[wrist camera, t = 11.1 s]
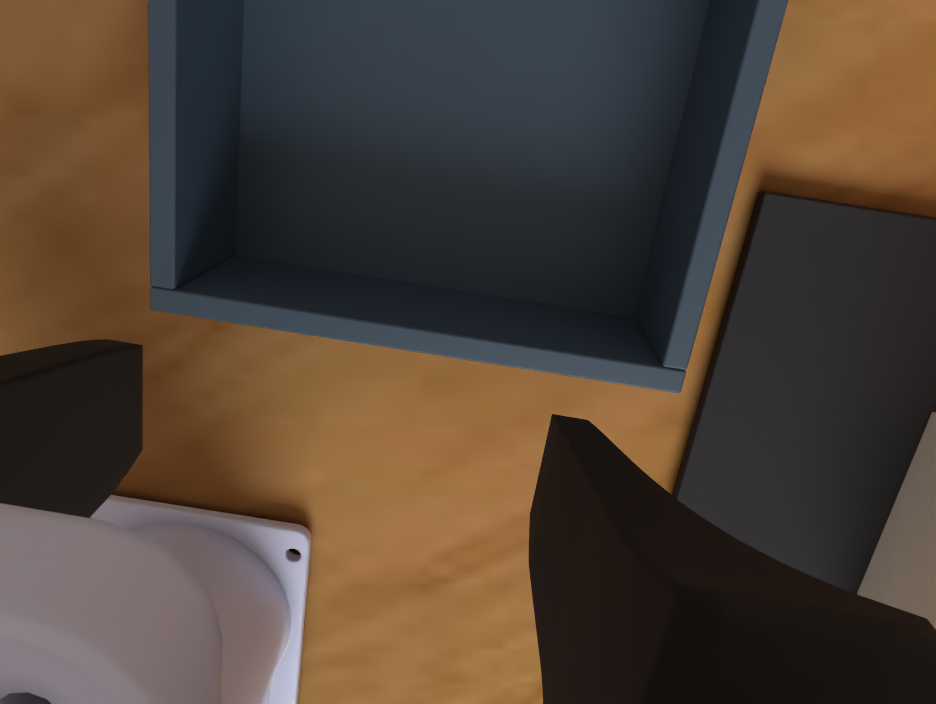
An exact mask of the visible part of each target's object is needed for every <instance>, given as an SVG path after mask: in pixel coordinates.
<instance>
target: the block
mask: <svg viewBox="0 0 936 704" xmlns="http://www.w3.org/2000/svg"><path fill="white" fill-rule="evenodd" d="M857 595H860V596H863V597H866V598H869V599H872V600H875V601H878V602H880V603H883V604H886V605H889V606H892V607H895V608H898V609H901V610H904V611H907V612H909V613H912V614H915V615H918V616H921V617H924V618H926V619H928V620H929V622H930V623H931V624H932V625H933V627H934V628H935V629H936V412H932V413H931V416H930V418H929V421H928V423H927V426H926V428H925V430H924V433H923V435H922V438H921V440H920V442H919V445H918V447H917V450H916V452H915V455H914V457H913V459H912V462H911V464H910V467H909V469H908V471H907V474H906V476H905V479H904V481H903V484H902V486H901V488H900V491H899V493H898V496H897V498H896V501H895V503H894V505H893V508H892V510H891V513H890V515H889V517H888V520H887V522H886V525H885V527H884V530H883V532H882V534H881V537H880V539H879V542H878V544H877V546H876V549H875V551H874V554H873V556H872V559H871V561H870V563H869V566H868V568H867V571H866V573H865V576H864V578H863V580H862V583H861V585H860V588H859V590H858V592H857Z"/></svg>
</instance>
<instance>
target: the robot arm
mask: <svg viewBox="0 0 936 704" xmlns="http://www.w3.org/2000/svg"><path fill="white" fill-rule="evenodd" d="M142 359H143V345H138V344H132V343H126V342H120V341H114V340H108V339H106V340H87V341H79V342H73V343H66V344H60V345H55V346H49V347H44V348H39V349H33V350H28V351H23V352H18V353H13V354H7V355H2V356H0V704H298V693H299V682H300V670H301V658H302V646H303V634H304V623H305V611H306V599H307V587H308V575H309V564H310V552H311V540H312V538H311V533H310V532H309V530H308V529H307V528H305V527H304V526H302V525H299V524H294V523H287V522H281V521H275V520H268V519H262V518H256V517H249V516H243V515H237V514H230V513H224V512H217V511H211V510H205V509H198V508H192V507H186V506H179V505H173V504H167V503H160V502H154V501H148V500H141V499H135V498H129V497H122V496H116V495H111V494H112V493H113V492H114V491H115V489H116V488H117V486H118V485H119V484H120V482H121V481H122V479H123V478H124V477H125V475H126V474H127V472H128V471H129V469H130V468H131V466H132V465H133V463H134V462H135V460H136V459H137V457H138V456H139V454H140V453H141V451H142ZM90 517H91V518H90ZM289 549H296V550H298V551H299V552H300V554H298V555H296V554H293V553H292V552H291V551H290V550H289ZM529 569H530V578H531V587H532V596H533V605H534V613H535V621H536V630H537V638H538V647H539V655H540V663H541V673H542V687H543V704H936V629H935V628H934V627H933V625H932V624H931V623H930V622H929V620H928V619H926V618H924V617H921V616H918V615H915V614H912V613H909V612H907V611H904V610H901V609H898V608H895V607H892V606H889V605H886V604H883V603H880V602H878V601H875V600H872V599H869V598H866V597H863V596H860V595H857V594H854V593H852V592H849V591H846V590H844V589H841V588H839V587H836V586H834V585H832V584H829V583H827V582H825V581H822V580H820V579H817V578H815V577H813V576H810V575H808V574H806V573H803V572H801V571H799V570H797V569H795V568H792V567H790V566H788V565H786V564H784V563H782V562H780V561H778V560H776V559H774V558H772V557H770V556H768V555H766V554H764V553H762V552H760V551H759V550H757V549H755V548H753V547H751V546H749V545H747V544H745V543H744V542H742V541H740V540H738V539H736V538H735V537H733V536H731V535H730V534H728V533H726V532H724V531H723V530H721V529H720V528H718V527H716V526H715V525H713V524H712V523H710V522H709V521H707V520H706V519H704V518H703V517H701V516H700V515H698V514H697V513H695V512H694V511H692V510H691V509H689V508H688V507H687V506H685V505H684V504H683V503H681V502H680V501H679V500H677V499H676V498H675V497H673V496H672V495H671V494H670V493H668V492H667V491H666V490H665V489H664V488H662V487H661V486H660V485H659V484H657V483H656V482H655V481H654V480H653V479H651V478H650V477H649V476H648V475H647V474H646V473H644V472H643V471H642V470H641V469H640V468H639V467H638V466H637V465H636V464H634V463H633V462H632V461H631V460H630V459H629V458H628V457H627V456H626V455H625V454H624V453H623V452H622V451H621V450H620V449H619V448H618V447H617V446H615V445H614V444H613V443H612V442H611V441H610V440H609V439H608V438H607V437H606V436H605V435H604V434H603V433H602V432H601V431H600V430H599V429H598V428H597V427H595V426H594V425H593V424H592V423H591V422H589V421H588V420H584V419H578V418H572V417H566V416H560V415H554V414H552V417H551V422H550V426H549V431H548V436H547V440H546V445H545V449H544V454H543V458H542V463H541V467H540V472H539V476H538V481H537V485H536V490H535V494H534V499H533V503H532V508H531V512H530V529H529Z"/></svg>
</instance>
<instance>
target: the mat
mask: <svg viewBox="0 0 936 704" xmlns="http://www.w3.org/2000/svg"><path fill="white" fill-rule="evenodd" d="M932 412H936V218H933V217H926V216H920V215H914V214H907V213H901V212H895V211H888V210H882V209H876V208H869V207H863V206H857V205H850V204H844V203H838V202H831V201H825V200H819V199H812V198H806V197H800V196H793V195H787V194H781V193H774V192H768V191H760V192H759V195H758V198H757V202H756V205H755V209H754V212H753V216H752V219H751V223H750V226H749V230H748V233H747V237H746V240H745V244H744V247H743V251H742V254H741V258H740V261H739V265H738V268H737V272H736V275H735V279H734V282H733V286H732V289H731V293H730V296H729V300H728V303H727V307H726V310H725V314H724V317H723V321H722V324H721V328H720V331H719V335H718V338H717V342H716V345H715V349H714V352H713V356H712V359H711V363H710V366H709V370H708V373H707V377H706V380H705V384H704V387H703V391H702V394H701V397H700V401H699V404H698V408H697V411H696V415H695V418H694V422H693V425H692V429H691V432H690V436H689V439H688V443H687V446H686V450H685V453H684V457H683V460H682V464H681V467H680V471H679V474H678V478H677V481H676V485H675V488H674V492H673V495H672V496H673V497H675V498H676V499H677V500H679V501H680V502H681V503H683V504H684V505H685V506H687V507H688V508H689V509H691V510H692V511H694V512H695V513H697V514H698V515H700V516H701V517H703V518H704V519H706V520H707V521H709V522H710V523H712V524H713V525H715V526H716V527H718V528H720V529H721V530H723V531H724V532H726V533H728V534H730V535H731V536H733V537H735V538H736V539H738V540H740V541H742V542H744V543H745V544H747V545H749V546H751V547H753V548H755V549H757V550H759V551H760V552H762V553H764V554H766V555H768V556H770V557H772V558H774V559H776V560H778V561H780V562H782V563H784V564H786V565H788V566H790V567H792V568H795V569H797V570H799V571H801V572H803V573H806V574H808V575H810V576H813V577H815V578H817V579H820V580H822V581H825V582H827V583H829V584H832V585H834V586H836V587H839V588H841V589H844V590H846V591H849V592H852V593H854V594H857V592H858V590H859V588H860V585H861V583H862V580H863V578H864V576H865V573H866V571H867V568H868V566H869V563H870V561H871V559H872V556H873V554H874V551H875V549H876V546H877V544H878V542H879V539H880V537H881V534H882V532H883V530H884V527H885V525H886V522H887V520H888V517H889V515H890V513H891V510H892V508H893V505H894V503H895V501H896V498H897V496H898V493H899V491H900V488H901V486H902V484H903V481H904V479H905V476H906V474H907V471H908V469H909V467H910V464H911V462H912V459H913V457H914V455H915V452H916V450H917V447H918V445H919V442H920V440H921V438H922V435H923V433H924V430H925V428H926V426H927V423H928V421H929V418H930V416H931V413H932Z"/></svg>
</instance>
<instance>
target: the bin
mask: <svg viewBox="0 0 936 704" xmlns="http://www.w3.org/2000/svg"><path fill="white" fill-rule="evenodd" d="M787 3H788V0H148V19H149V157H150V284H151V286H152V287H151V289H150V294H151V310H154V311H161V312H167V313H173V314H180V315H186V316H192V317H199V318H205V319H211V320H218V321H224V322H230V323H237V324H243V325H249V326H256V327H262V328H268V329H275V330H281V331H288V332H294V333H300V334H307V335H313V336H319V337H326V338H332V339H338V340H345V341H351V342H357V343H364V344H370V345H376V346H383V347H389V348H395V349H402V350H408V351H414V352H421V353H427V354H433V355H440V356H446V357H452V358H459V359H465V360H471V361H478V362H484V363H490V364H497V365H503V366H509V367H516V368H522V369H528V370H535V371H541V372H547V373H554V374H560V375H566V376H573V377H579V378H585V379H592V380H598V381H604V382H611V383H617V384H623V385H630V386H636V387H642V388H649V389H655V390H661V391H668V392H674V393H680V392H681V389H682V385H683V382H684V378H685V374H686V371H685V370H686V369H687V366H688V363H689V359H690V356H691V352H692V348H693V345H694V341H695V337H696V334H697V330H698V326H699V323H700V319H701V316H702V312H703V308H704V305H705V301H706V297H707V294H708V290H709V286H710V283H711V279H712V276H713V272H714V268H715V265H716V261H717V257H718V254H719V250H720V246H721V243H722V239H723V235H724V232H725V228H726V225H727V221H728V217H729V214H730V210H731V206H732V203H733V199H734V195H735V192H736V188H737V185H738V181H739V177H740V174H741V170H742V166H743V163H744V159H745V155H746V152H747V148H748V144H749V141H750V137H751V134H752V130H753V126H754V123H755V119H756V115H757V112H758V108H759V104H760V101H761V97H762V94H763V90H764V86H765V83H766V79H767V75H768V72H769V68H770V64H771V61H772V57H773V54H774V50H775V46H776V43H777V39H778V35H779V32H780V28H781V24H782V21H783V17H784V13H785V10H786V6H787Z"/></svg>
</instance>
